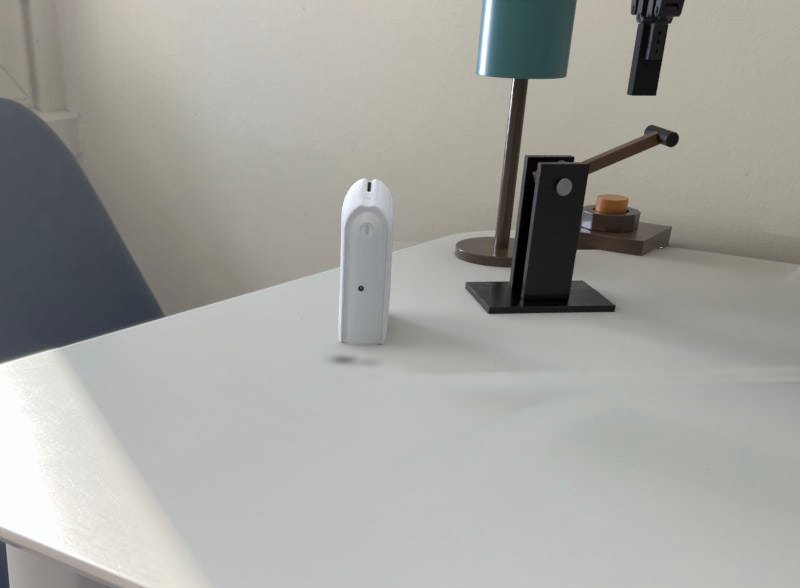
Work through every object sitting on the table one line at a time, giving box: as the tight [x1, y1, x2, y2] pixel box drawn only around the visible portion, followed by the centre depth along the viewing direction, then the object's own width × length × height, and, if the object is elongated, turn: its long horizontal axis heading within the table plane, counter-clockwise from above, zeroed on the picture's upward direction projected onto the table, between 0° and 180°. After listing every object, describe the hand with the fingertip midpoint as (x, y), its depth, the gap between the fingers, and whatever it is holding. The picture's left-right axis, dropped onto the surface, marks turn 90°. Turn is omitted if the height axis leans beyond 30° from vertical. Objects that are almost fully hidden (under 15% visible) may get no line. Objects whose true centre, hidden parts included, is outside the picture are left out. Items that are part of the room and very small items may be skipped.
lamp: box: [454, 0, 578, 268], centre depth 103 cm, size 10×10×25 cm
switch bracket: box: [464, 154, 616, 315], centre depth 92 cm, size 12×9×13 cm
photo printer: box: [337, 177, 395, 347], centre depth 83 cm, size 10×4×12 cm, turn 177°
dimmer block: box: [577, 204, 673, 257], centre depth 116 cm, size 12×10×4 cm
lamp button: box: [595, 193, 630, 214], centre depth 114 cm, size 4×4×2 cm
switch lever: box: [533, 124, 680, 183], centre depth 89 cm, size 12×5×2 cm, turn 97°
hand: (641, 94), depth 107 cm, fingers closed
